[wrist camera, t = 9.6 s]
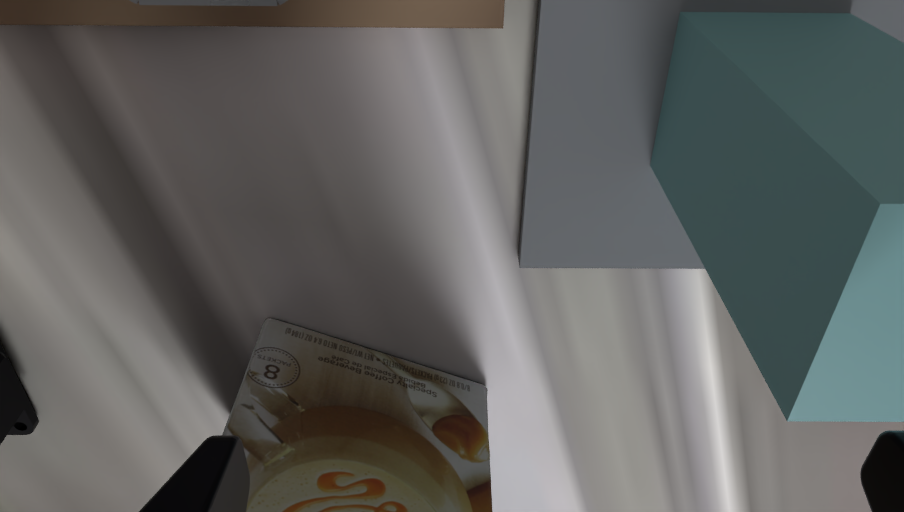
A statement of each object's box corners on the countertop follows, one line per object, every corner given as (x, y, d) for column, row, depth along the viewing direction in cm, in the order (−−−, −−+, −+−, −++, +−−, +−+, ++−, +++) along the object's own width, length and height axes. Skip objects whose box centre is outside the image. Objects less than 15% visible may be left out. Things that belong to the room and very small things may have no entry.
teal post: (650, 165, 20) (787, 421, 12) (680, 11, 18) (880, 204, 10) (798, 166, 20) (1036, 421, 12) (850, 13, 18) (1196, 205, 10)
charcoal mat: (518, 259, 23) (519, 268, 22) (550, -155, 16) (553, -153, 16) (870, 260, 23) (878, 269, 23) (1051, -150, 16) (1067, -149, 16)
